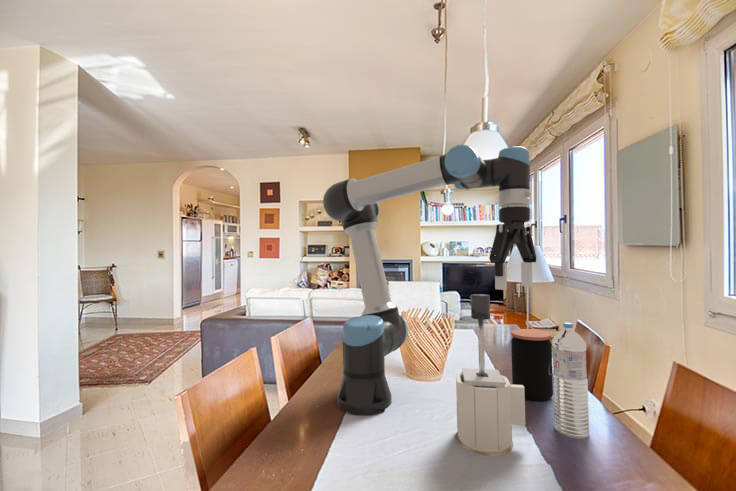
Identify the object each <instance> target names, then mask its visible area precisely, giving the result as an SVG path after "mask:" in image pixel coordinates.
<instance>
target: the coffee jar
mask: <svg viewBox="0 0 736 491" xmlns="http://www.w3.org/2000/svg"><path fill="white" fill-rule="evenodd" d="M510 333H511V334H510V335H511V336H512V338H511V340H510V344H511V347H510V348H511V382H512V383H511V384H512V385H523V386H524V391H525V401H527V402H536V403H547V402H549V401H550V400H551V399H552V398H553V397H554V393H553V390H554V389H553V347H552V341H550V339H552V334H551V333H550V332H548V331H544V330H542V329H541V330H540V329H533V328H519V329H513V330H511V331H510Z"/></svg>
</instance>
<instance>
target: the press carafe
mask: <svg viewBox="0 0 736 491" xmlns="http://www.w3.org/2000/svg"><path fill="white" fill-rule="evenodd" d="M455 382H456V383H455V384H456V385H455V387H456V389H455V390H456V391H455V392H456V427H457V430H456V431H458V439H459V441H460V442H461V443H462V444H463V445H464V446H465V447H467V448H469V449H471V450H474V451H477V452H480V453H486V454H497V453H502V452H505V451H507V450H508V449H509V448H510V446H511V443H512V441H513V427H512V426H526V400H525V391H524V386H523V385H512V383H510V381H509V379H508V377H507V376H505V375H502V374H501V373H500V371H499V369H491V368H485V377H479V368H471V367H470V368H468V367H462V368H461V372H460V373H457V374H456V375H455ZM474 386H487V387H496V388H486V387H474Z"/></svg>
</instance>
